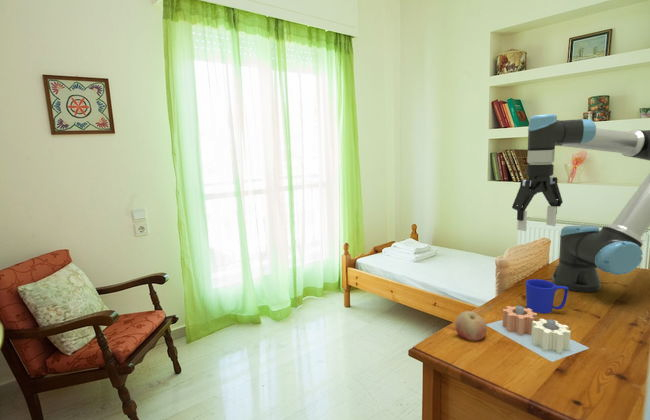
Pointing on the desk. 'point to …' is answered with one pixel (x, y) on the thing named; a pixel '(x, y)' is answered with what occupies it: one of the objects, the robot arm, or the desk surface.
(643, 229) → the robot arm
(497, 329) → the gear board
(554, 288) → the mug
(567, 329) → the gear
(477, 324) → the fruit
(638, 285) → the desk surface
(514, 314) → the loose gear
